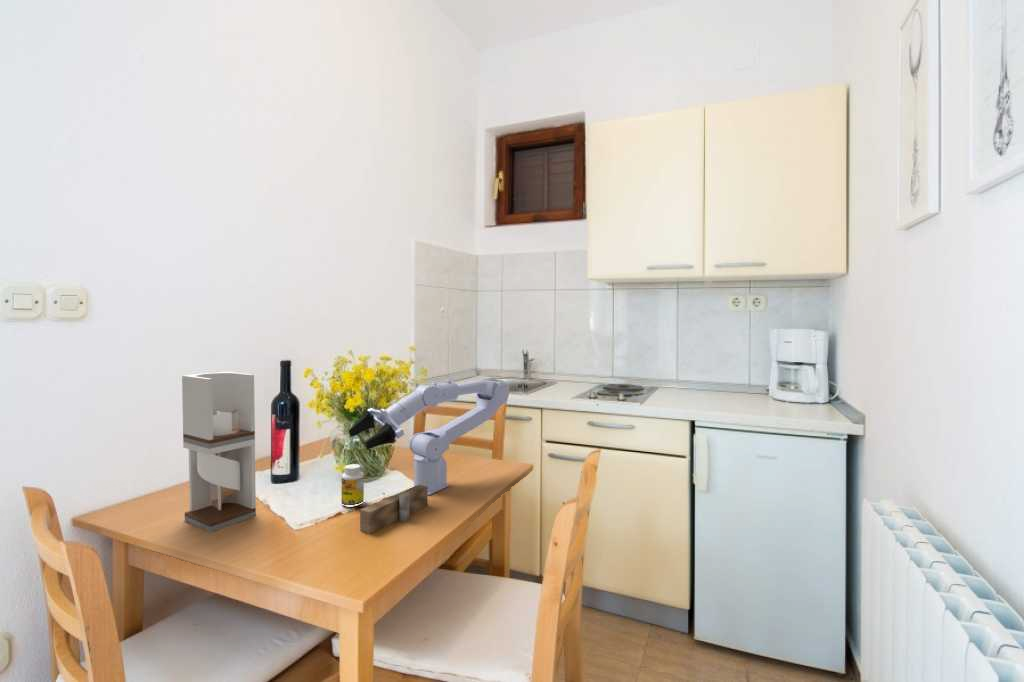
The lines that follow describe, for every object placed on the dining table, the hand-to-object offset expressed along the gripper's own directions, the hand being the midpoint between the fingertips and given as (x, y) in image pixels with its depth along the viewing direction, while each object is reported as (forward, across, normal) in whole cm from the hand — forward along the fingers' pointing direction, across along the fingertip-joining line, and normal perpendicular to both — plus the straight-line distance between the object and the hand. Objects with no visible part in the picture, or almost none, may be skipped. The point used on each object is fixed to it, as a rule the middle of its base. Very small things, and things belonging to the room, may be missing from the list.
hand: (357, 439), depth 122 cm
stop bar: (+3, +17, +14) cm, 22 cm away
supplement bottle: (+7, +2, +17) cm, 18 cm away
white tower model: (+32, -14, +10) cm, 37 cm away
